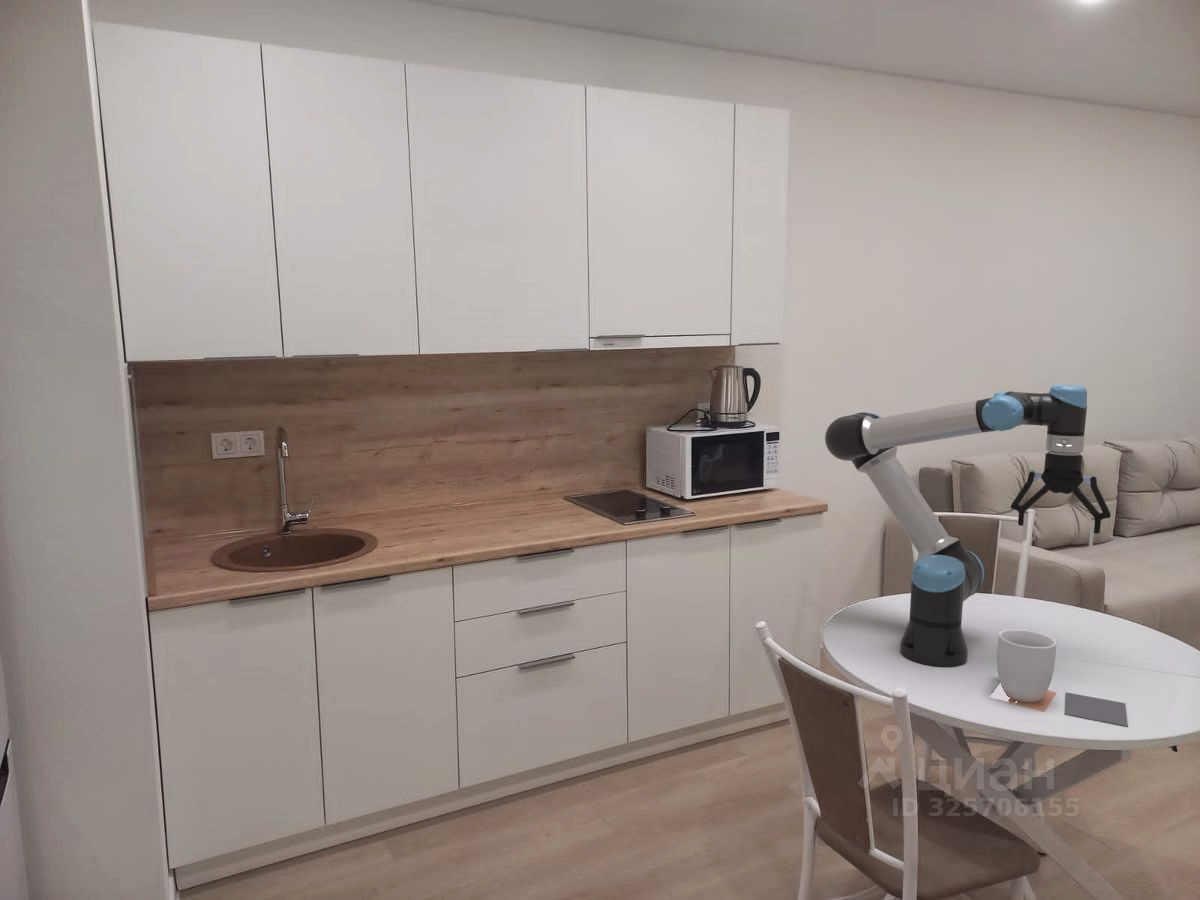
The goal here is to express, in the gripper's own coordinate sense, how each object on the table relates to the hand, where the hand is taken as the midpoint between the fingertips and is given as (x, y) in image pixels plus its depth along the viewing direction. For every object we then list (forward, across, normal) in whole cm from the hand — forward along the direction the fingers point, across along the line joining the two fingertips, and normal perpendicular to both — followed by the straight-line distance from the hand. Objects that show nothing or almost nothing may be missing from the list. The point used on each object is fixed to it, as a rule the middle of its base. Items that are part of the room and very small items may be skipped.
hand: (1056, 543), depth 195 cm
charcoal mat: (+29, +10, -24) cm, 39 cm away
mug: (+29, -4, -24) cm, 38 cm away
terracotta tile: (+29, -4, -24) cm, 38 cm away
